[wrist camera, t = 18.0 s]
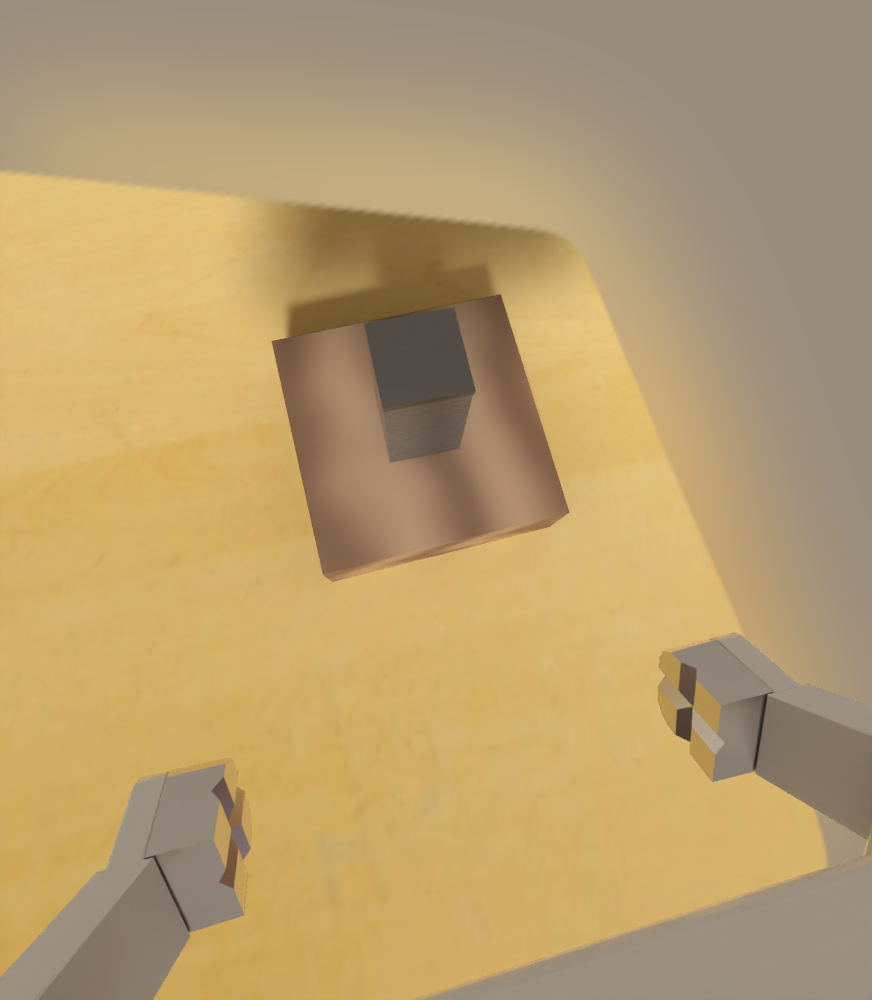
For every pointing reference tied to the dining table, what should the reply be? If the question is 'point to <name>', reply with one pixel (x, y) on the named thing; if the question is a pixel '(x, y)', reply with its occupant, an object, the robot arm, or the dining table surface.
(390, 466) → the walnut block
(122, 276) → the dining table surface
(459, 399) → the grey tin
